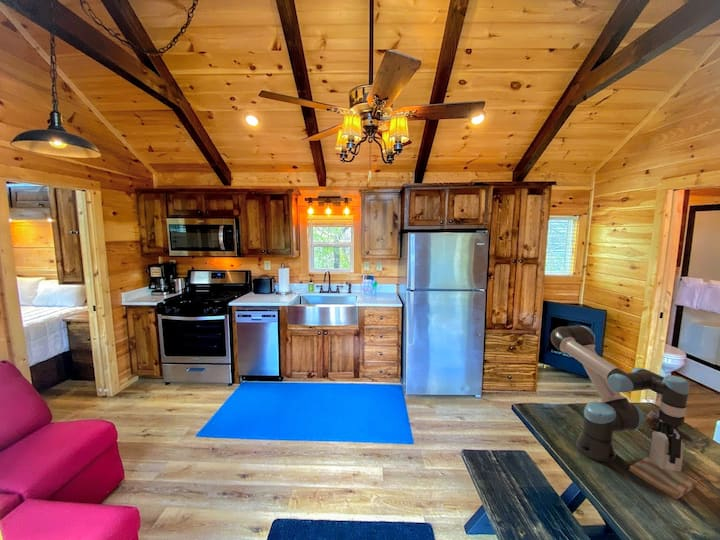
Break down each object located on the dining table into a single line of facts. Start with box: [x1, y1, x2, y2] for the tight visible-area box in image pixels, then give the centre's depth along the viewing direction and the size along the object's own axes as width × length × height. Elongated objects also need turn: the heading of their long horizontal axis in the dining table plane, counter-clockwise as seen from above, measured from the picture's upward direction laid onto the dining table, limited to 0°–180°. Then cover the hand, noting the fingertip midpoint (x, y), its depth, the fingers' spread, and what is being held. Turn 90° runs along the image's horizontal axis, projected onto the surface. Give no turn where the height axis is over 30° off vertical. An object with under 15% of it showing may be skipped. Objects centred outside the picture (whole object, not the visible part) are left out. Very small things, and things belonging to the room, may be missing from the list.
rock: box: [644, 409, 659, 430], centre depth 167 cm, size 12×9×10 cm
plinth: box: [629, 455, 698, 500], centre depth 134 cm, size 16×16×3 cm
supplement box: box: [648, 431, 686, 472], centre depth 132 cm, size 7×7×13 cm
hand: (664, 461), depth 133 cm, fingers closed on supplement box, 8 cm apart
